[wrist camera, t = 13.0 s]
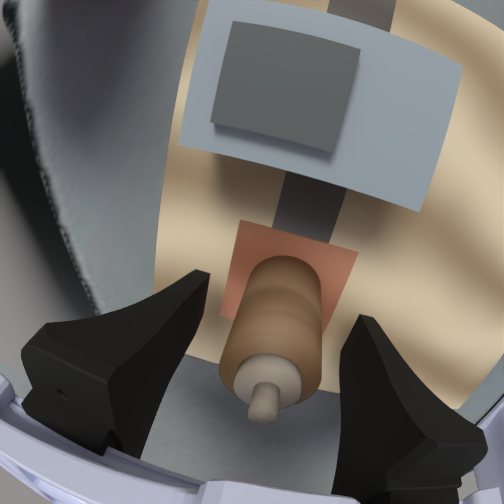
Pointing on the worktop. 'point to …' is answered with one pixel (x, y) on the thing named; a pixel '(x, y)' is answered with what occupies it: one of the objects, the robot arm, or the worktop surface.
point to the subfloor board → (362, 219)
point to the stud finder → (320, 98)
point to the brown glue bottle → (275, 339)
